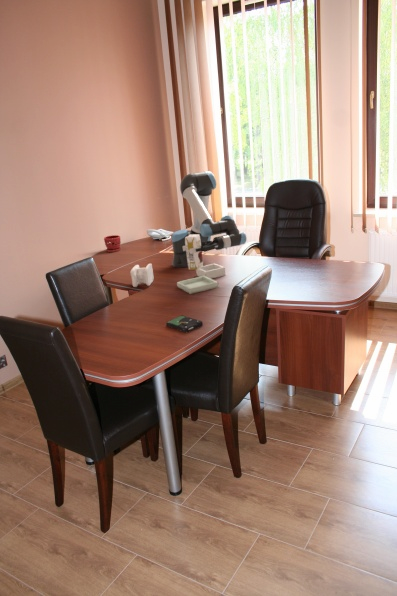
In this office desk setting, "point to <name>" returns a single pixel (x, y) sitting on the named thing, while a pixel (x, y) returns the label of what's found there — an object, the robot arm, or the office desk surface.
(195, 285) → the tray
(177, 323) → the disk drive
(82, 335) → the office desk surface
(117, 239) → the plant pot
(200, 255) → the juice carton
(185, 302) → the office desk surface
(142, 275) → the cable organizer
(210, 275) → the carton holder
